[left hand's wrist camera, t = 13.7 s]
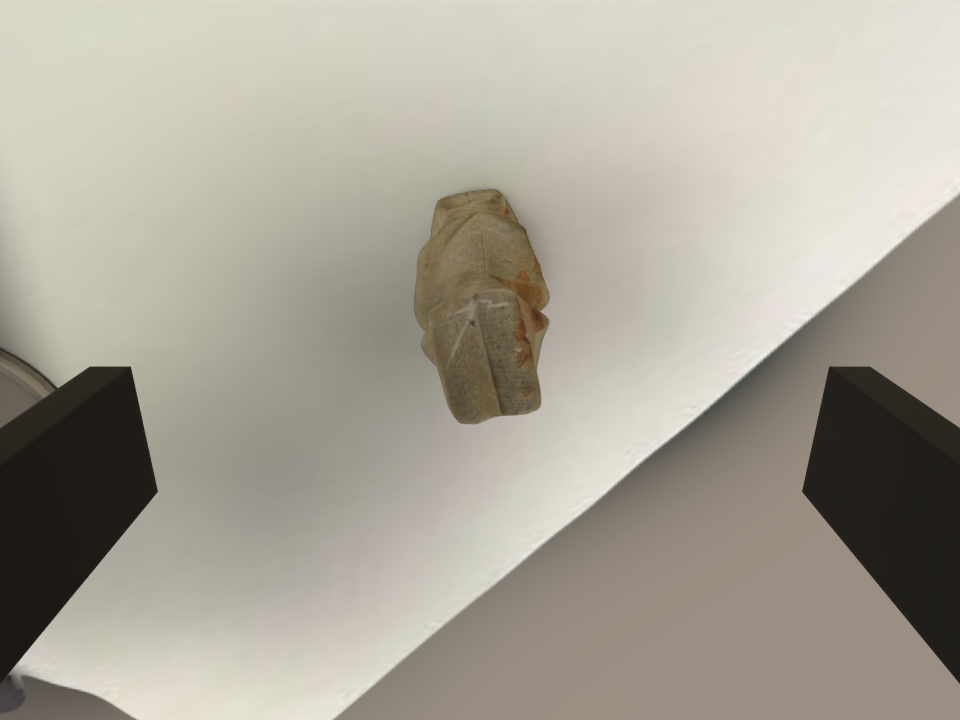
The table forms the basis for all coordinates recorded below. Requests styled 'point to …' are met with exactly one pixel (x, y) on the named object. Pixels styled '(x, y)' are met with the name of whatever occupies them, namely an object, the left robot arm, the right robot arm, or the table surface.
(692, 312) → the table surface
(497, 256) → the sculpture
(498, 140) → the table surface
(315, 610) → the table surface
